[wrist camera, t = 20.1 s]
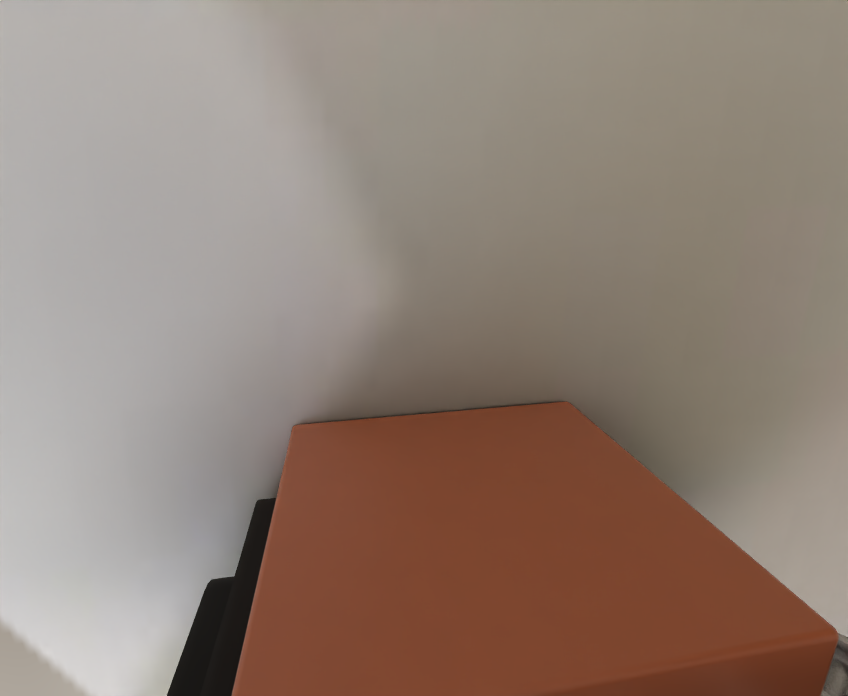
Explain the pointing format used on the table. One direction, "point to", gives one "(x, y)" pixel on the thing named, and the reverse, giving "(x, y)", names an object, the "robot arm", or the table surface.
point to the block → (508, 571)
